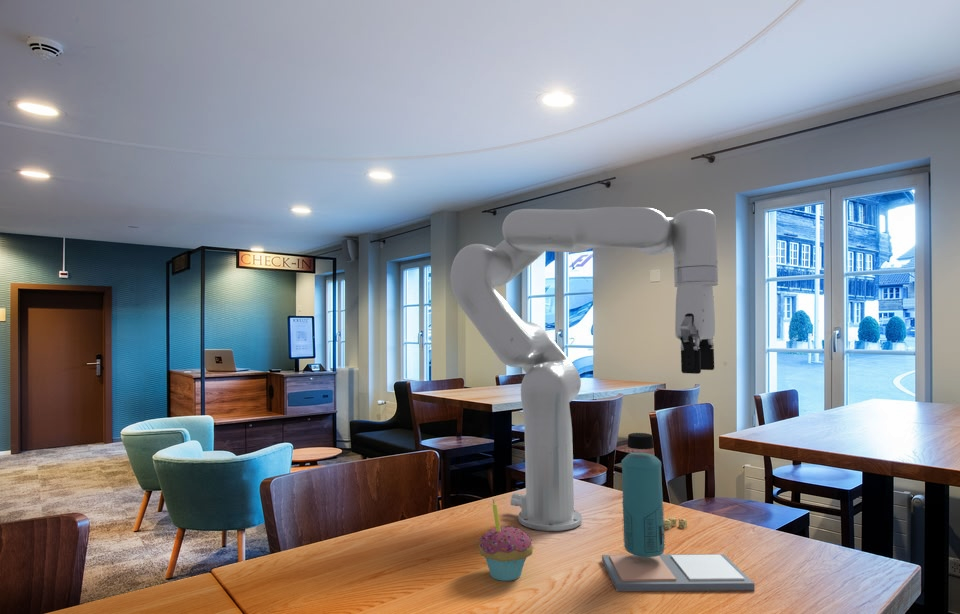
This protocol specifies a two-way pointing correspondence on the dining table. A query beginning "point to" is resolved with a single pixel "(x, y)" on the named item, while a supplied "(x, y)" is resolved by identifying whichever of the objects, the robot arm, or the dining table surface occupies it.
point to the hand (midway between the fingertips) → (698, 371)
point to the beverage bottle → (642, 499)
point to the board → (675, 573)
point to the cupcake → (505, 550)
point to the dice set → (674, 523)
